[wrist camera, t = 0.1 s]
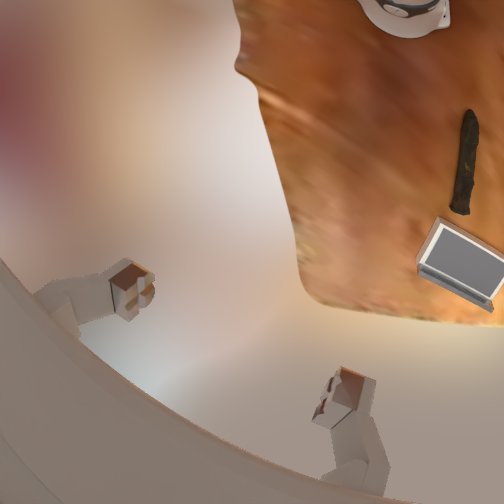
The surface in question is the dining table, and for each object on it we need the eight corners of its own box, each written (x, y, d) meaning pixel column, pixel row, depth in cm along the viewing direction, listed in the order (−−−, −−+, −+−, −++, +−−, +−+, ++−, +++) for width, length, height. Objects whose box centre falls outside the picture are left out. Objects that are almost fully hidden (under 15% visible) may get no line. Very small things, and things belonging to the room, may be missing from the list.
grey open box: (437, 215, 48) (443, 229, 42) (508, 257, 43) (518, 274, 38) (415, 257, 53) (417, 274, 48) (485, 293, 49) (491, 312, 43)
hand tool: (465, 211, 44) (471, 219, 40) (447, 206, 46) (452, 215, 42) (480, 113, 35) (488, 114, 31) (461, 108, 36) (468, 108, 33)
